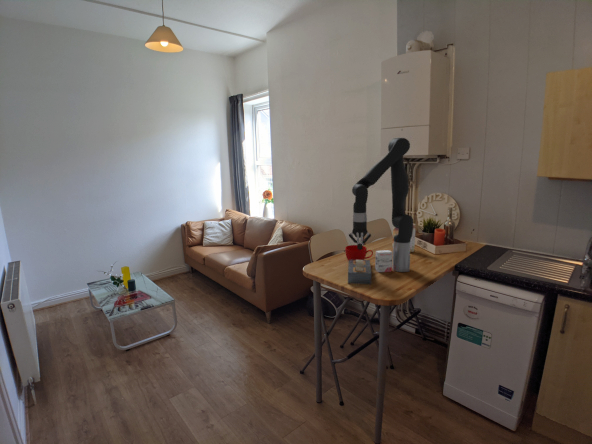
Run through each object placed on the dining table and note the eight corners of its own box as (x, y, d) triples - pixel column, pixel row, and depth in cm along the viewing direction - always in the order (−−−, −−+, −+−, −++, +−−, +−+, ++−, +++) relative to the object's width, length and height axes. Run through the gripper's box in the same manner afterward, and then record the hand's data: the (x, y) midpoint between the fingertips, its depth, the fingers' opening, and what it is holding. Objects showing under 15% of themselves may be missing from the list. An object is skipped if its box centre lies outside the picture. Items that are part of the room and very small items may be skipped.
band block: (348, 268, 195) (348, 259, 194) (369, 269, 193) (369, 260, 192) (347, 283, 174) (348, 272, 172) (371, 284, 172) (371, 273, 170)
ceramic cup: (373, 267, 197) (373, 251, 194) (344, 266, 200) (344, 250, 198) (372, 260, 209) (372, 245, 207) (345, 259, 212) (345, 244, 210)
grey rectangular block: (355, 269, 179) (355, 259, 177) (363, 269, 178) (363, 259, 177) (355, 271, 175) (355, 262, 174) (363, 272, 174) (363, 262, 173)
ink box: (388, 268, 194) (389, 249, 192) (392, 271, 189) (392, 252, 187) (374, 269, 193) (375, 250, 191) (377, 272, 189) (378, 252, 186)
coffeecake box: (391, 247, 237) (392, 221, 233) (399, 246, 240) (400, 220, 236) (406, 252, 224) (408, 225, 220) (414, 251, 226) (416, 223, 222)
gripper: (371, 218, 185) (371, 248, 189) (348, 218, 188) (348, 247, 191) (372, 221, 178) (372, 252, 182) (347, 221, 180) (347, 251, 184)
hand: (359, 249), depth 186 cm, fingers closed
